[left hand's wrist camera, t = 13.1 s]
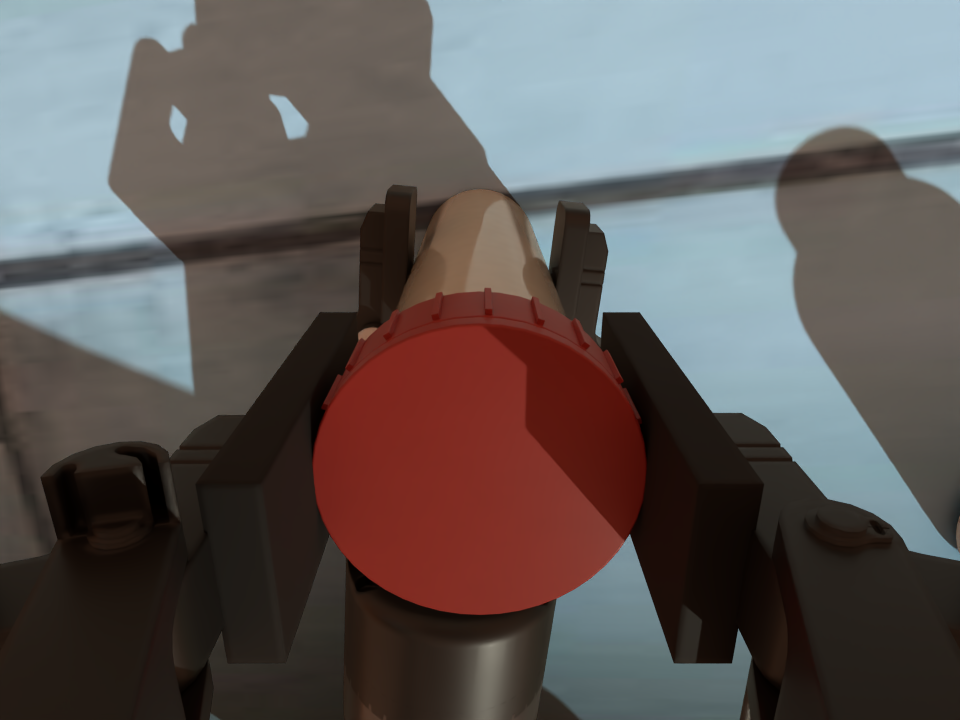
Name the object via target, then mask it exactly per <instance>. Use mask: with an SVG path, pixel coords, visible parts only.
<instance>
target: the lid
mask: <svg viewBox="0 0 960 720" xmlns="http://www.w3.org/2000/svg"><path fill="white" fill-rule="evenodd" d="M345 369H346V370H345V372H344V374H343V376H341V375H339V374H338V375H337V377H336V379H335V381H334V383H333V385H332V387H331V389H330V391H329V393H328V395H327V397H326V399H325V401H324V403H323V405H322V407H321V409H323V410H326V411H325V413H324V415H323V418H322V420H321V422H320V424H319V427H318V431H317V435H316V438H315V442H314V447H313V456H312V465H313V475H314V485H315V494H316V503H317V506H318V509H319V512H320V515H321V518H322V520H323V522H324V524H325V526H326V528H327V530H328V532H329V534H330V536H331V538H332V539H333V541H334V542H335V543H336V545H337V546H338V548H339V549H340V551H341V552H342V553H343V554H344V555H345V556H346V558H347V559H348V560H349V561H350V562H351V563H352V564H353V565H354V566H355V567H356V568H357V569H358V570H359V571H360V572H362V573H363V574H364V575H365V576H366V577H368V578H369V579H370V580H372V581H373V582H375V583H376V584H378V585H379V586H381V587H382V588H383V589H385V590H387V591H389V592H391V593H393V594H395V595H397V596H398V597H400V598H402V599H405V600H407V601H410V602H413V603H415V604H418V605H421V606H424V607H428V608H432V609H435V610H439V611H445V612H451V613H458V614H474V615H486V614H501V613H508V612H514V611H520V610H524V609H527V608H531V607H535V606H538V605H541V604H544V603H546V602H549V601H551V600H554V599H556V598H559V597H561V596H562V595H564V594H566V593H568V592H570V591H572V590H574V589H576V588H577V587H579V586H580V585H581V584H583V583H584V582H586V581H587V580H589V579H590V578H592V577H593V576H594V575H595V574H596V573H597V572H598V571H600V570H601V569H602V568H603V567H604V566H605V565H606V564H607V563H608V562H609V561H610V560H611V559H612V557H613V556H614V555H615V554H616V553H617V552H618V551H619V549H620V548H621V546H622V545H623V543H624V542H625V540H626V539H627V537H628V536H629V534H630V532H631V530H632V528H633V526H634V524H635V522H636V520H637V518H638V515H639V512H640V509H641V506H642V503H643V498H644V490H645V480H646V470H647V457H646V449H645V442H644V439H643V435H642V432H641V428H640V425H639V424H642V420H641V417H640V415H639V413H638V411H637V409H636V407H635V405H634V403H633V401H632V399H631V397H630V395H629V393H628V391H627V389H626V388H622V386H621V383H622V382H623V379H622V377H621V375H620V373H619V371H618V369H617V367H616V365H615V363H614V361H613V359H612V357H611V355H610V353H609V352H608V350H605V351H604V352H603V351H602V350H601V349H600V347H599V346H598V345H597V344H596V343H595V342H594V341H593V339H592V338H591V337H590V336H589V335H588V334H587V333H586V332H585V331H584V330H583V328H582V326H581V323H580V321H579V320H577V319H576V318H574V319H573V320H572V321H571V320H570V319H568V318H567V317H565V316H564V315H562V314H561V313H559V312H557V311H555V310H553V309H551V308H549V307H547V306H545V305H543V304H541V303H540V302H539V298H536V297H532V299H531V300H529V299H526V298H523V297H520V296H515V295H509V294H504V293H497V292H491V288H484V292H480V291H477V292H463V293H455V294H449V295H444V296H443V292H439V293H436V296H435V298H433V299H430V300H427V301H424V302H421V303H418V304H416V305H414V306H412V307H410V308H408V309H406V310H404V311H402V312H399V310H398V309H397V310H395V311H393V312H392V314H391V317H390V319H389V320H388V321H386V322H385V323H383V324H382V325H381V326H380V327H379V328H378V329H377V330H375V331H374V332H373V333H372V334H371V335H370V336H369V337H368V338H367V339H366V340H364V339H363V338H361V339H360V340H359V341H358V343H357V345H356V347H355V349H354V351H353V353H352V355H351V357H350V359H349V361H348V363H347V365H346V367H345Z"/></svg>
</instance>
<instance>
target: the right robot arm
mask: <svg viewBox="0 0 960 720" xmlns="http://www.w3.org/2000/svg"><path fill="white" fill-rule="evenodd" d="M416 206H417V187H413V186H402V185H392V186H391V187H390V188H389V189H388V190H387V193H386V199H385V204H375V205H374V206H373V207H372V208H371V209H370V210H369V211H368V213H367V215H366V217H365V220H364V222H363V224H362V226H361V231H360V274H359V310H358V312H357V325H358V339H359V340H360V339H361V338H363V339H364V340H366V339H367V338H368V337H369V336H370V335H371V334H372V333H373V332H374V331H375V330H377V329H378V328H379V327H380V326H381V325H382V324H383V323H385V322H386V321H388V320H389V319H390V317H391V314H392V312H393V311H395V310H396V307H397V305H398V302H399V300H400V297H401V295H402V292H403V289H404V287H405V284H406V282H407V279H408V277H409V274H410V272H411V269H412V266H413V262H414V243H415V225H416ZM607 256H608V248H607V244H606V240H605V235H604V233H603V231H602V230H601V229H600V228H599V227H598V226H597V225H596V224H590V210H589V209H588V208H587V207H586V206H585V205H584V204H583V203H580V202H570V201H559V203H558V206H557V211H556V219H555V226H554V234H553V241H552V249H551V257H550V264H549V273H550V275H551V278H552V281H553V283H554V286H555V288H556V291H557V293H558V296H559V299H560V301H561V304H562V306H563V309H564V312H565V314H566V317H567V318H568V319H570V320H571V321H572V320H573V319H574V318H576V319H577V320H579V321H580V323H581V326H582V328H583V330H584V331H585V332H586V333H587V334H588V335H589V336H590V337H591V338H592V339H593V341H594V342H595V343H596V344H597V345H598V346H599V347H601V338H600V337H598V336H597V335H596V334H595V330H596V323H597V317H598V311H599V305H600V299H601V293H602V284H603V281H604V274H605V268H606V262H607ZM556 599H557V598H556ZM556 599H554V600H551V601H549V602H546V603H544V604H541V605H538V606H535V607H531V608H527V609H524V610H520V611H514V612H508V613H501V614H486V615H474V614H458V613H451V612H445V611H439V610H435V609H432V608H428V607H424V606H421V605H418V604H415V603H413V602H410V601H407V600H405V599H402V598H400V597H398V596H397V595H395V594H393V593H391V592H389V591H387V590H385V589H383V588H382V587H381V586H379V585H378V584H376V583H375V582H373V581H372V580H370V579H369V578H368V577H366V576H365V575H364V574H363V573H362V572H360V571H359V570H358V569H357V568H356V567H355V566H354V565H353V564H352V563H351V562H350V561H349V560H348V559H347V558H346V590H345V636H344V687H343V712H344V720H536V719H537V714H538V708H539V702H540V695H541V689H542V683H543V677H544V671H545V665H546V659H547V653H548V647H549V641H550V635H551V629H552V623H553V617H554V611H555V605H556Z"/></svg>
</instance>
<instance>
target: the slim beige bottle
mask: <svg viewBox="0 0 960 720" xmlns="http://www.w3.org/2000/svg"><path fill="white" fill-rule="evenodd" d="M484 288H491V292H497V293H504V294H509V295H515V296H520V297H523V298H526V299H529V300H531V299H532V297H536V298H539V302H540V303H541V304H543V305H545V306H547V307H549V308H551V309H553V310H555V311H557V312H559V313H561V314H562V315H564V316H565V317H566V314H565V312H564V309H563V306H562V304H561V301H560V299H559V296H558V293H557V291H556V288H555V286H554V283H553V281H552V278H551V275H550V273H549V270H548V268H547V265H546V262H545V260H544V257H543V255H542V252H541V250H540V247H539V244H538V242H537V239H536V237H535V234H534V231H533V229H532V226H531V224H530V222H529V219H528V217H527V216H526V214H525V213H524V211H523V210H522V209H521V207H520V206H519V205H518V204H517V203H515V202H514V201H513V200H512V199H510V198H509V197H507V196H505V195H503V194H501V193H498V192H495V191H491V190H485V189H475V190H468V191H464V192H461V193H459V194H457V195H455V196H453V197H451V198H450V199H448V200H447V201H445V202H444V203H443V204H442V205H441V206H440V207H439V208H438V210H437V211H436V212H435V214H434V215H433V217H432V219H431V221H430V223H429V226H428V228H427V231H426V233H425V236H424V238H423V241H422V243H421V246H420V249H419V251H418V254H417V256H416V259H415V261H414V264H413V266H412V269H411V272H410V274H409V277H408V279H407V282H406V284H405V287H404V289H403V292H402V295H401V297H400V300H399V302H398V305H397V307H396V310H397V309H398V310H399V312H402V311H404V310H406V309H408V308H410V307H412V306H414V305H416V304H418V303H421V302H424V301H427V300H430V299H433V298H435V296H436V293H439V292H443V296H444V295H449V294H455V293H463V292H477V291H480V292H484Z"/></svg>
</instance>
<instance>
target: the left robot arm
mask: <svg viewBox="0 0 960 720" xmlns="http://www.w3.org/2000/svg"><path fill="white" fill-rule="evenodd" d="M358 341H359V339H358V325H357V312H320V313H319V315H318V316H317V317H316V319H315V320H314V321H313V323H312V324H311V326H310V327H309V328H308V330H307V331H306V332H305V334H304V335H303V337H302V338H301V339H300V341H299V342H298V343H297V345H296V346H295V347H294V349H293V350H292V352H291V353H290V354H289V356H288V357H287V358H286V360H285V361H284V363H283V364H282V365H281V367H280V368H279V369H278V371H277V372H276V374H275V375H274V376H273V378H272V379H271V380H270V382H269V383H268V385H267V386H266V387H265V389H264V390H263V391H262V393H261V394H260V396H259V397H258V398H257V400H256V401H255V402H254V404H253V405H252V407H251V408H250V409H249V411H248V412H247V413H246V415H218V416H216V417H215V418H213V419H211V420H210V421H208V422H206V423H204V424H203V425H201V426H199V427H198V428H196V429H194V430H193V431H192V432H191V434H190V435H189V436H188V437H187V438H186V439H185V441H184V442H183V443H182V444H181V445H180V449H179V450H176V451H175V452H174V454H173V455H172V456H171V457H170V458H169V453H168V451H166V450H165V449H164V448H162V447H161V446H159V445H157V444H152V443H147V442H142V441H138V442H117V443H112V444H107V445H101V446H96V447H93V448H90V449H87V450H84V451H81V452H78V453H75V454H73V455H71V456H69V457H67V458H65V459H63V460H62V461H60V462H58V463H56V464H54V465H53V466H52V467H51V468H49V469H48V470H47V471H46V472H45V473H44V474H43V475H42V476H41V477H40V478H41V481H42V485H43V488H44V492H45V496H46V499H47V503H48V506H49V510H50V514H51V517H52V521H53V524H54V528H55V532H56V535H57V539H58V540H57V542H56V544H55V546H54V548H53V550H52V552H51V554H48V555H44V556H40V557H35V558H30V559H25V560H20V561H14V562H9V563H4V564H0V720H209V719H210V712H211V704H212V696H213V681H212V674H211V669H210V664H209V659H208V658H209V656H210V654H211V652H212V650H213V648H214V646H215V643H216V641H217V639H218V637H219V635H220V633H221V631H222V635H223V640H224V646H225V651H226V657H227V662H228V663H286V661H287V658H288V655H289V652H290V649H291V646H292V643H293V640H294V637H295V634H296V631H297V628H298V625H299V622H300V619H301V617H302V614H303V611H304V608H305V605H306V602H307V599H308V596H309V593H310V590H311V587H312V584H313V581H314V578H315V575H316V572H317V570H318V567H319V564H320V561H321V558H322V555H323V552H324V549H325V546H326V543H327V540H328V537H329V532H328V530H327V528H326V526H325V524H324V522H323V520H322V518H321V515H320V512H319V509H318V506H317V503H316V494H315V485H314V475H313V465H312V456H313V447H314V442H315V438H316V435H317V431H318V427H319V424H320V422H321V420H322V418H323V415H324V413H325V411H326V410H323V409H321V407H322V405H323V403H324V401H325V399H326V397H327V395H328V393H329V391H330V389H331V387H332V385H333V383H334V381H335V379H336V377H337V375H338V374H339V375H341V376H343V374H344V372H345V370H346V369H345V367H346V365H347V363H348V361H349V359H350V357H351V355H352V353H353V351H354V349H355V347H356V345H357V343H358ZM600 349H601V350H602V351H603V352H604V351H605V350H608V352H609V353H610V355H611V357H612V359H613V361H614V363H615V365H616V367H617V369H618V371H619V373H620V375H621V377H622V379H623V382H622V383H621V386H622V388H626V389H627V391H628V393H629V395H630V397H631V399H632V401H633V403H634V405H635V407H636V409H637V411H638V413H639V415H640V417H641V420H642V424H639V425H640V428H641V432H642V435H643V439H644V442H645V449H646V457H647V470H646V480H645V490H644V498H643V503H642V506H641V509H640V512H639V515H638V518H637V520H636V522H635V524H634V526H633V528H632V530H631V532H630V535H631V538H632V541H633V544H634V547H635V550H636V553H637V556H638V559H639V562H640V565H641V568H642V571H643V574H644V577H645V580H646V582H647V585H648V588H649V591H650V594H651V597H652V600H653V603H654V606H655V609H656V612H657V615H658V618H659V621H660V624H661V627H662V629H663V632H664V635H665V638H666V641H667V644H668V647H669V650H670V653H671V656H672V659H673V662H674V663H732V660H733V654H734V649H735V643H736V638H737V632H738V628H739V630H740V633H741V635H742V637H743V639H744V641H745V643H746V645H747V647H748V649H749V651H750V653H751V655H752V659H751V664H750V669H749V674H748V680H747V685H746V690H745V695H744V700H743V705H742V710H741V716H740V720H960V561H957V560H951V559H946V558H941V557H936V556H930V555H925V554H920V553H916V552H912V551H909V550H908V548H907V547H906V545H905V543H904V541H903V539H902V538H901V536H900V535H899V534H898V533H897V532H896V531H895V529H894V528H893V527H892V526H891V525H890V524H888V523H887V522H885V521H884V520H882V519H881V518H879V517H878V516H876V515H874V514H873V513H871V512H868V511H866V510H863V509H861V508H858V507H856V506H853V505H851V504H847V503H842V502H838V501H833V500H829V499H827V498H826V497H825V496H824V494H823V493H822V492H821V491H820V490H819V489H818V487H817V486H816V485H815V484H814V483H813V482H812V480H811V479H810V478H809V477H808V476H807V475H806V473H805V472H804V471H803V470H802V469H801V468H800V466H799V465H798V464H797V463H796V462H793V461H792V457H791V456H790V455H789V453H788V452H787V451H786V450H785V449H784V448H783V447H780V443H779V442H778V441H777V439H776V438H775V437H774V436H773V435H772V434H771V432H770V431H769V430H768V429H767V428H766V427H765V426H763V425H761V424H760V423H758V422H756V421H754V420H753V419H751V418H749V417H747V416H746V415H744V414H742V413H712V411H711V410H710V409H709V407H708V406H707V404H706V403H705V402H704V400H703V399H702V398H701V396H700V395H699V393H698V392H697V391H696V389H695V388H694V387H693V385H692V384H691V382H690V381H689V380H688V378H687V377H686V376H685V374H684V373H683V371H682V370H681V369H680V367H679V366H678V365H677V363H676V362H675V360H674V359H673V358H672V356H671V355H670V354H669V352H668V351H667V349H666V348H665V347H664V345H663V344H662V343H661V341H660V340H659V338H658V337H657V336H656V334H655V333H654V332H653V330H652V329H651V327H650V326H649V325H648V323H647V322H646V321H645V319H644V318H643V316H642V315H641V314H640V312H603V319H602V333H601V347H600Z"/></svg>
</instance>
